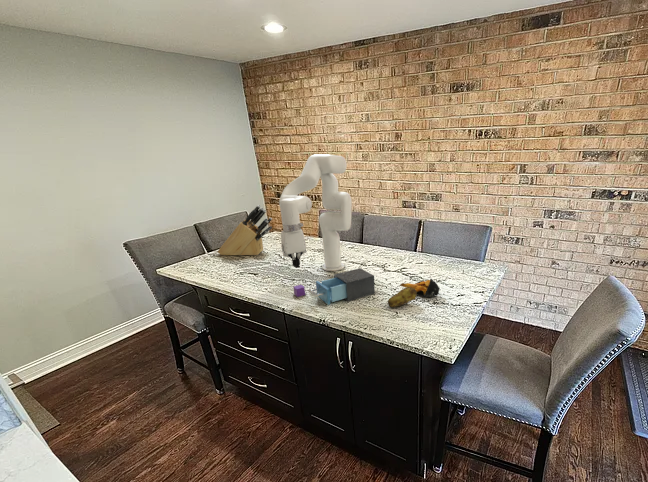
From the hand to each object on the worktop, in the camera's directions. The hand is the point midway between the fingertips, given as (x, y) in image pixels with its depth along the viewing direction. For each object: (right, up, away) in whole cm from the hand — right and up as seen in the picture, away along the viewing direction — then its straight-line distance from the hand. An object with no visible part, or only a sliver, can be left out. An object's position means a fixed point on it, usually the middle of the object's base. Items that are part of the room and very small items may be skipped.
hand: (296, 266), depth 154 cm
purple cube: (0, -13, +6) cm, 14 cm away
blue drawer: (+16, -14, 0) cm, 21 cm away
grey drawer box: (+26, -12, +6) cm, 29 cm away
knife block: (-49, +12, +67) cm, 84 cm away
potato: (+48, -17, -7) cm, 51 cm away
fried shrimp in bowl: (+57, -13, +4) cm, 59 cm away
